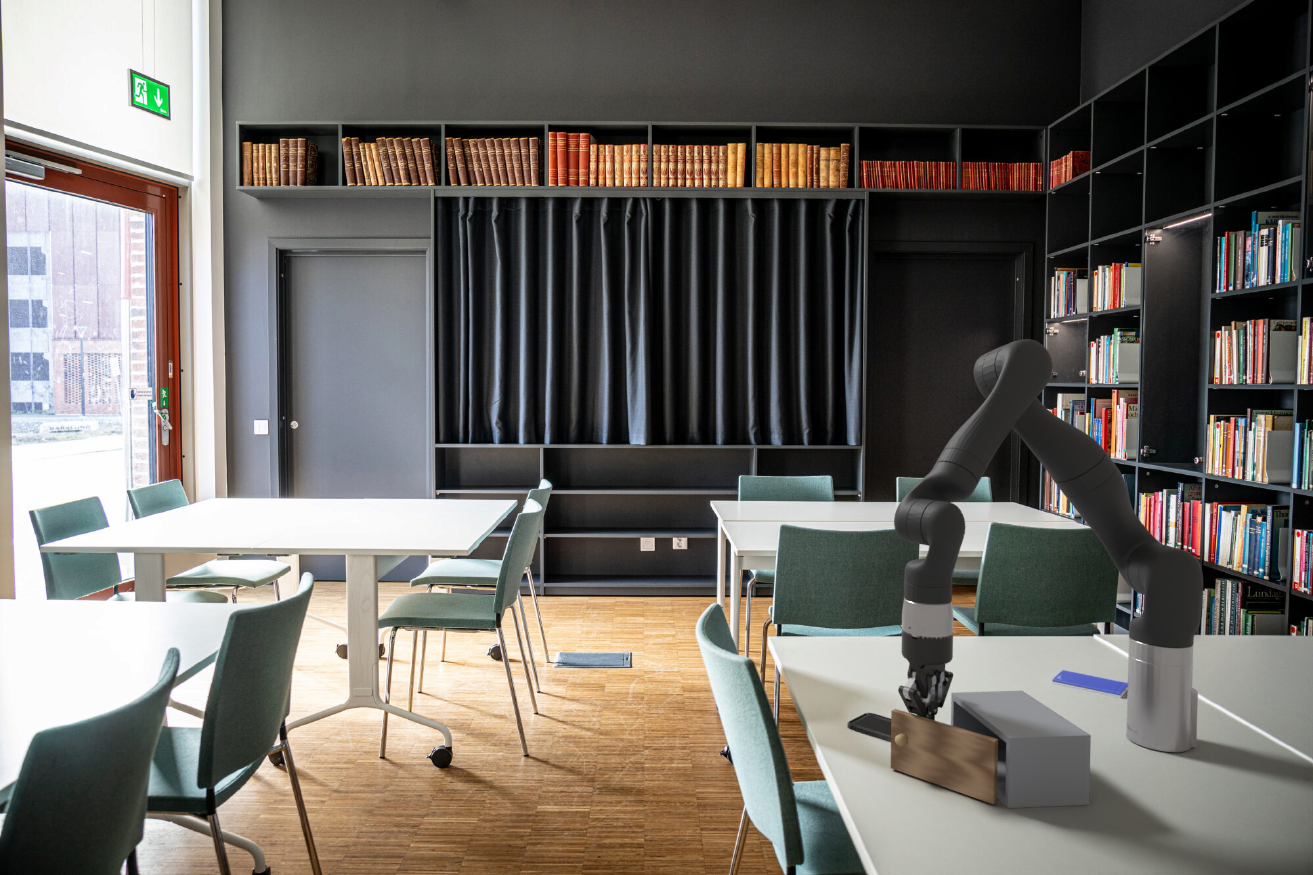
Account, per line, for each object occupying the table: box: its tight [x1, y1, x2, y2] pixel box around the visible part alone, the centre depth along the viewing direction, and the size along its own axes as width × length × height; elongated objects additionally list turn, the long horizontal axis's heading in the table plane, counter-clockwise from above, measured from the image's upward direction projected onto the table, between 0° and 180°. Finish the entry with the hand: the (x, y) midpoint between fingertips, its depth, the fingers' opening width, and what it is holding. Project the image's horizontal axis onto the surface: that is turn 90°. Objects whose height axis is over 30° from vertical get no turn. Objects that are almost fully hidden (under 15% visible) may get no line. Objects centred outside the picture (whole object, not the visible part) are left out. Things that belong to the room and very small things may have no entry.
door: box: [890, 708, 998, 805], centre depth 120 cm, size 16×2×9 cm, turn 44°
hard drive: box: [1051, 669, 1128, 699], centre depth 164 cm, size 2×8×12 cm
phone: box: [847, 712, 891, 743], centre depth 139 cm, size 8×1×15 cm
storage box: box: [950, 690, 1092, 809], centre depth 123 cm, size 12×18×10 cm, turn 5°
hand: (925, 737), depth 126 cm, fingers closed
